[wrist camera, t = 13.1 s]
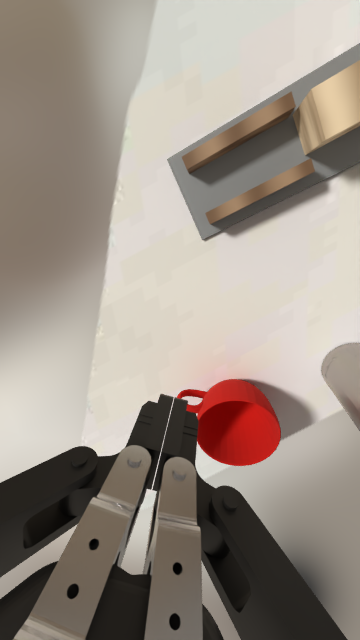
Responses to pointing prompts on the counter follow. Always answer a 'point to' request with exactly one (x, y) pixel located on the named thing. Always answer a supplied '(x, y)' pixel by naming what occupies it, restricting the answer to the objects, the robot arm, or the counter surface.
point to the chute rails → (234, 139)
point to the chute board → (265, 158)
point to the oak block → (329, 109)
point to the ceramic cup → (235, 423)
